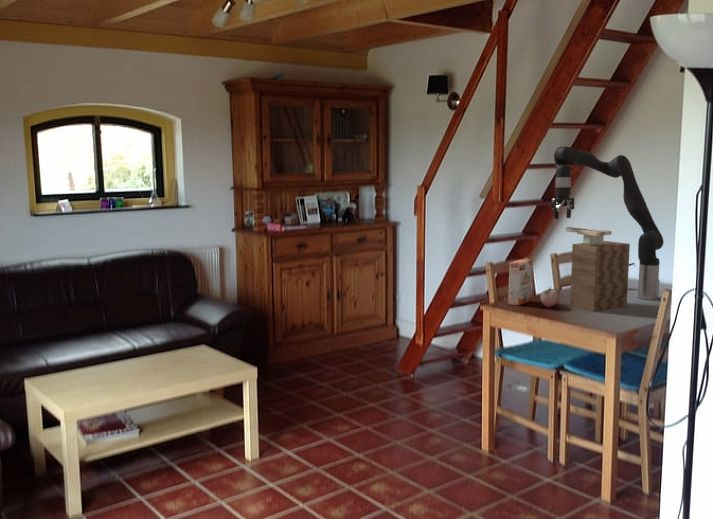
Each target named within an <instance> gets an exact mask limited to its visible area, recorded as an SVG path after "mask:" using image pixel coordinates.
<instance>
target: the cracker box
mask: <svg viewBox="0 0 713 519" xmlns="http://www.w3.org/2000/svg"><path fill="white" fill-rule="evenodd" d="M532 265H533V260H532V259H524V258H521V259H518V260H514V261H511V262H509V268H508V269H509V270H508V271H509V272H508V274H509V275H508V294H507V296H508V297H507V298H508V299H507V305H510V306H516V305H517V306H521V305H524V304H527V303H529V302H531V291H532V289H531V288H532V271H533V270H532V267H533V266H532ZM517 306H516V307H517Z"/></svg>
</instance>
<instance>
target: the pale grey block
mask: <svg viewBox="0 0 713 519" xmlns="http://www.w3.org/2000/svg"><path fill="white" fill-rule="evenodd" d="M582 237H583V240H582V241H583V242H582V243H584V245H588V246H601V245H602V243H603V241H604V237H605V235H602V236H591V235H583V236H582Z"/></svg>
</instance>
